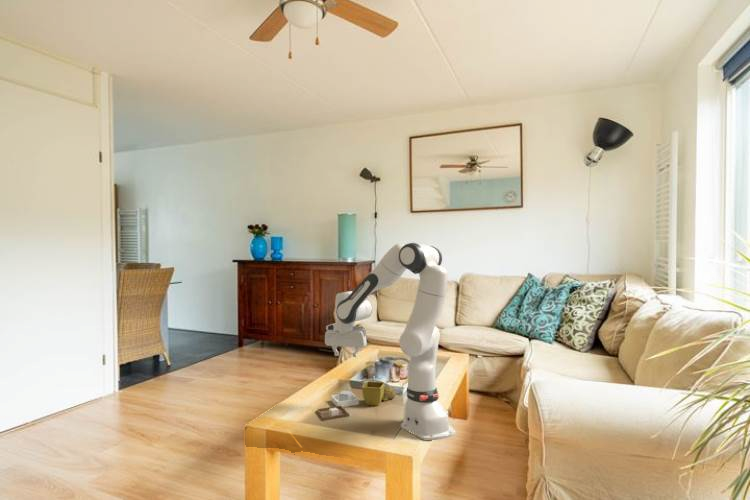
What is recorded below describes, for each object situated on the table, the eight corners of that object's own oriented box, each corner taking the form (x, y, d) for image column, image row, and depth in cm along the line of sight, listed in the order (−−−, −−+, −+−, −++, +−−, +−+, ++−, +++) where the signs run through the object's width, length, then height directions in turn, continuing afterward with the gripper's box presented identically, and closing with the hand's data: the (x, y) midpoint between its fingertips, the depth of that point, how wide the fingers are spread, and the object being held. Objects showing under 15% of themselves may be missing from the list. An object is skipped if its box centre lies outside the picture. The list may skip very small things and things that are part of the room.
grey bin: (359, 405, 181) (358, 398, 181) (337, 409, 177) (337, 402, 177) (351, 398, 190) (351, 392, 190) (331, 402, 187) (331, 395, 187)
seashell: (383, 411, 185) (393, 400, 182) (372, 400, 186) (381, 389, 184) (390, 400, 194) (399, 389, 191) (379, 390, 195) (388, 379, 193)
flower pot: (381, 408, 177) (380, 387, 178) (362, 407, 179) (361, 386, 180) (385, 401, 186) (385, 382, 186) (367, 400, 188) (366, 381, 188)
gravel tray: (349, 417, 167) (349, 413, 167) (323, 421, 163) (323, 418, 163) (341, 408, 177) (341, 405, 178) (317, 412, 173) (317, 409, 173)
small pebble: (338, 417, 167) (338, 409, 167) (331, 418, 165) (331, 411, 165) (335, 414, 169) (335, 407, 169) (329, 416, 168) (329, 408, 168)
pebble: (352, 401, 186) (351, 391, 186) (348, 404, 181) (347, 394, 182) (343, 400, 187) (343, 390, 187) (339, 403, 183) (338, 393, 183)
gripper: (368, 325, 185) (369, 356, 184) (329, 324, 193) (330, 353, 192) (362, 327, 179) (363, 359, 178) (322, 326, 187) (323, 356, 186)
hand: (345, 356), depth 185 cm, fingers open, 8 cm apart
